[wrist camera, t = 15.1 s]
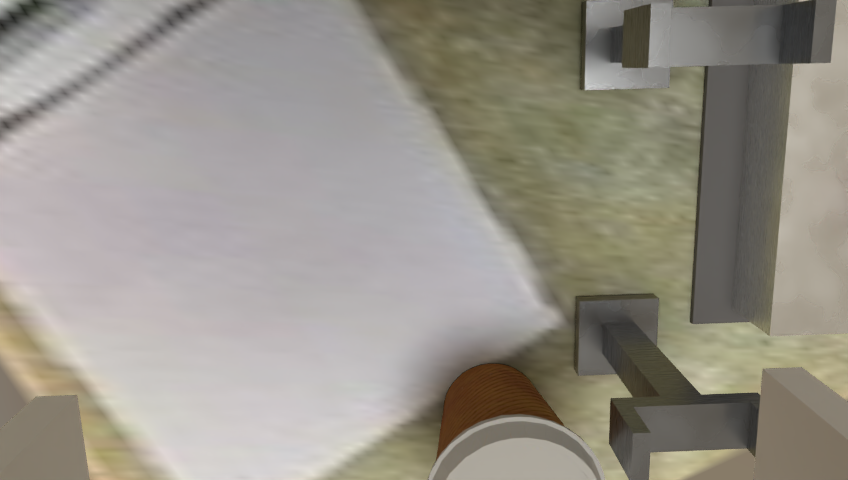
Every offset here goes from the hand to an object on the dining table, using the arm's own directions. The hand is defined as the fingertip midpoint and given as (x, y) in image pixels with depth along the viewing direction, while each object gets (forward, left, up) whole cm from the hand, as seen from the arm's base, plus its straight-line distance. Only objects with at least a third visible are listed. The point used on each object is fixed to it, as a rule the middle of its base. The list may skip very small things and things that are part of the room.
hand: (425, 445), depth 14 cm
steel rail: (-3, +23, -31) cm, 39 cm away
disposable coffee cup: (+15, +5, -32) cm, 36 cm away
